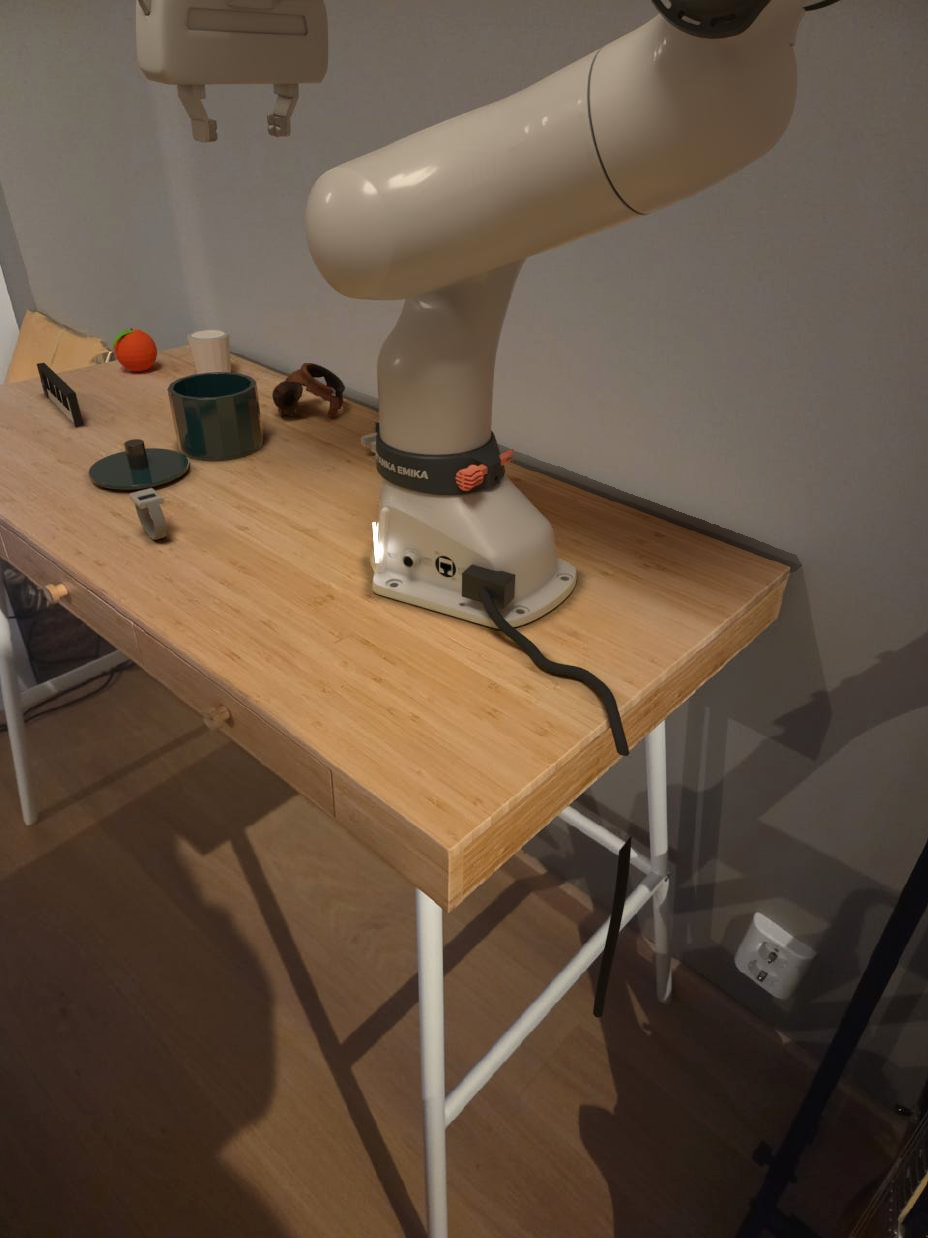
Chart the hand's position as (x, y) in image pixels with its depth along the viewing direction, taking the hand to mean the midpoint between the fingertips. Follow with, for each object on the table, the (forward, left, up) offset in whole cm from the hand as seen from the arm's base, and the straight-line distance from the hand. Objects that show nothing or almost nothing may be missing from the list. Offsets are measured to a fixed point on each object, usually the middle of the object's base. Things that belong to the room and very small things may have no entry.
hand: (243, 138), depth 80 cm
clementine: (+58, -18, -39) cm, 72 cm away
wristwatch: (+4, +16, -39) cm, 42 cm away
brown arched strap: (+20, -22, -39) cm, 49 cm away
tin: (+20, -6, -38) cm, 44 cm away
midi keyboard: (+50, 0, -39) cm, 63 cm away
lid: (+20, +7, -38) cm, 43 cm away
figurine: (-2, -22, -39) cm, 45 cm away
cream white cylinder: (+46, -25, -39) cm, 65 cm away
